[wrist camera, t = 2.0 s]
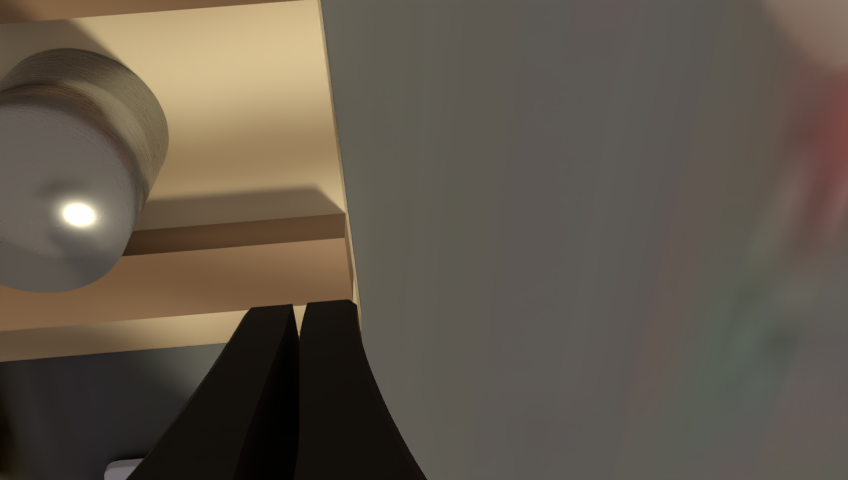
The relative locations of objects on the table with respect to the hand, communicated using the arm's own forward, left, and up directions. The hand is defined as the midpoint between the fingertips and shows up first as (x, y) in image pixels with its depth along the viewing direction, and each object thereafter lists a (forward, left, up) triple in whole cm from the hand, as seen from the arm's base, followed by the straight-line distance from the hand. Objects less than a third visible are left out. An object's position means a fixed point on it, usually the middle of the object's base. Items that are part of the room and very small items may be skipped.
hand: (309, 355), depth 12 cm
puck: (0, +6, -9) cm, 11 cm away
